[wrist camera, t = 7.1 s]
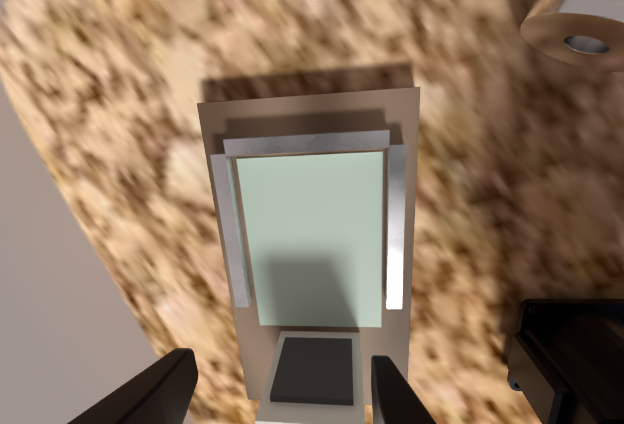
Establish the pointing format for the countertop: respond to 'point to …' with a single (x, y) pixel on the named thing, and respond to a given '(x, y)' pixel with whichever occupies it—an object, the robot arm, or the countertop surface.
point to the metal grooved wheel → (578, 32)
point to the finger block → (314, 380)
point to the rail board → (317, 224)
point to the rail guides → (310, 143)
